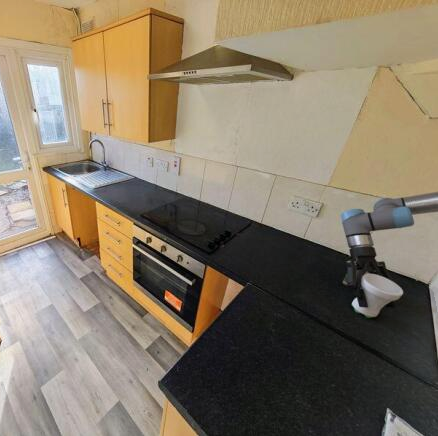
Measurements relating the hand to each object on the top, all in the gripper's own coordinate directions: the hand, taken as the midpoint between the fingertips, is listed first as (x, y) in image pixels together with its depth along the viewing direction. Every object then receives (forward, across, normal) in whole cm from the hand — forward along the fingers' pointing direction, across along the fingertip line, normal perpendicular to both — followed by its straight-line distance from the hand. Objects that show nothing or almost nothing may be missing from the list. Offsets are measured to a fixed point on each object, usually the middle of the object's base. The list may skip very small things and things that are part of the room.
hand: (377, 307), depth 83 cm
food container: (-8, -9, -15) cm, 19 cm away
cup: (+2, 0, -6) cm, 6 cm away
